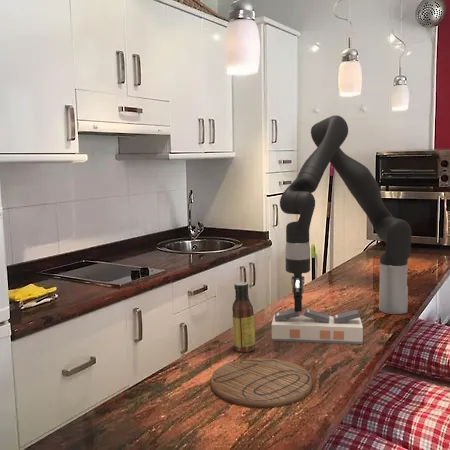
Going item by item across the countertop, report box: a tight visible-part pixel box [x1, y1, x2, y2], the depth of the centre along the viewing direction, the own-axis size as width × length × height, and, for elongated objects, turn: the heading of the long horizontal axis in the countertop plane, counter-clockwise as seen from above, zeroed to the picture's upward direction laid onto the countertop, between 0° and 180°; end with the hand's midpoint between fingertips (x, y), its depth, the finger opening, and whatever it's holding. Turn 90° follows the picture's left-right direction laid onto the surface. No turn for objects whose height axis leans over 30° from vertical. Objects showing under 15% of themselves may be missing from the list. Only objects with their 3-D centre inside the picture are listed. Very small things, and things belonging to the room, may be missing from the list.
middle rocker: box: [303, 308, 330, 323], centre depth 161 cm, size 8×4×2 cm, turn 81°
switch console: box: [271, 314, 364, 345], centre depth 161 cm, size 27×10×5 cm, turn 81°
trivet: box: [210, 357, 313, 409], centre depth 130 cm, size 25×25×2 cm
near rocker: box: [333, 309, 361, 324], centre depth 159 cm, size 8×4×2 cm, turn 80°
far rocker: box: [274, 308, 301, 321], centre depth 162 cm, size 8×4×2 cm, turn 80°
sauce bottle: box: [231, 281, 256, 353], centre depth 151 cm, size 6×6×20 cm
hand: (298, 310), depth 162 cm, fingers closed
